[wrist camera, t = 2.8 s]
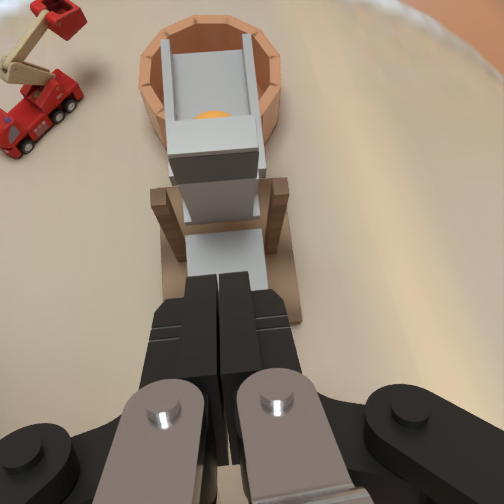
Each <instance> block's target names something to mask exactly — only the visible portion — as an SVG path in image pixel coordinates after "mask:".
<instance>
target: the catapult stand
mask: <svg viewBox="0 0 504 504" xmlns="http://www.w3.org/2000/svg"><path fill="white" fill-rule="evenodd" d="M288 198H289V188H288V181H287V177H286V178H283V177H282V178H271V179H259V185H258V200H259V209H260V219H256V220H245V221H233V222H222V223H211V224H200V225H188V226H186V225H185V223H184V212H183V199H182V196H181V193H180V191H179V188H178V186H177V187H165V188H157V189H150V200H151V208H152V210H153V212H154V214H155V216H156V218H157V220H158V222H159V224H160V239H161V263H162V287H163V302H164V301H165V300H166V299H172V298H182V297H184V292H185V283H186V277H188V269H187V255H186V241H185V235H196V234H207V233H218V232H230V231H241V230H252V229H262V236H263V246H264V255H265V264H266V273H267V282H268V289H272V290H274V291H275V292H276V293H277V294H278V295H279V296H280V297H281V298H282V299H283V300H284V304H285V308H286V312H287V316H288V320H289V324H300V323H301V322H302V316H301V308H300V301H299V294H298V287H297V279H296V272H295V265H294V257H293V250H292V243H291V235H290V228H289V221H288V214H287V202H288Z"/></svg>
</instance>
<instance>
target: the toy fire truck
mask: <svg viewBox="0 0 504 504" xmlns="http://www.w3.org/2000/svg"><path fill="white" fill-rule="evenodd" d="M30 9H31V11H32V12H33V13H34V14H35V16H36V17H37V18H36V19H35V21H34V22H33V24H32V25H31V26H30V28H29V29H28V30H27V32H26V33H25V34H24V36H23V37H22V38H21V40H20V41H19V42H18V44H17V45H16V46H15V48H14V49H13V50H12V52H11V53H10V55H9V56H4V57H3V58H2V59H1V62H0V78H1V79H3V80H4V81H5V82H7V83H10V84H24V85H23V87H22V88H21V90H20V92H21V93H22V95H23V96H24V99H22V100H21V101H20V102H19V103H18V104H17V105H16V106H15V107H14V108H13V109H11V110H10V111H9V112H8V113H6V112H5V111H3V110H2V109H0V149H1V150H2V151H3V152H4V153H5V154H7V155H9V156H11V157H15V158H17V157H20V156H21V154H22V153H21V152H24V153H29V152H30V151H31V150H32V149H33V147H34V144H33V142H34V141H36V140H37V139H38V138H39V137H40V136H41V135H43V134H44V133H45V132H46V131H47V130H48V129H49V128H50V127H51V126H52V125H53V122H55V123H59V122H61V121H62V120H63V119H64V112H63V111H62V110H63V109H64V110H66V111H67V112H72V111H73V110H74V109H75V108H76V102H75V100H77V101H78V100H79V99H81V98H82V96H83V93H82V91H81V89H80V87H79V85H78V83H77V82H76V81H74V80H73V79H71V78H70V77H69V76H67V75H66V74H65V73H63V72H62V71H60V70H59V69H55V70H54V71H53V72H52V73H50V71H49V69H46V68H43V67H40V66H37V65H34V64H31V63H28V62H25V61H24V60H25V58H26V57H27V56H28V54H29V53H30V52H31V50H32V49H33V48H34V46H35V45H36V44H37V42H38V41H39V40H40V38H41V37H42V36H43V34H44V33H45V31H46V30H47V29H50V30H51V31H53V32H54V33H56V34H57V35H59V36H60V37H61V38H63V39H65V40H66V41H68V40H70V39H71V37H73V36H74V35H75V34H76V33H77V32H78V31H79V30H80V29H81V28H82V27H83V26H84V25H85V24H86V23H87V20H86V18H85V16H84V14H83V12H82V10H81V8H80V7H78V6H77V5H75V4H74V3H72V2H71V1H69V0H35V1H34V2H32V3H31V4H30ZM74 99H75V100H74Z"/></svg>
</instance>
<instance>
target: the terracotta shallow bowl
mask: <svg viewBox="0 0 504 504" xmlns="http://www.w3.org/2000/svg"><path fill="white" fill-rule="evenodd" d="M249 33H251V40H252V48H253V57H254V66H255V74H256V83H257V92H258V100H259V109H260V118H261V126H262V135H263V144H264V145H265V144H266V142H267V141H268V140H269V138H270V136H271V134H272V132H273V129H274V126H275V125H276V123H277V119H278V110H279V102H280V93H281V66H280V55H279V53H278V52H277V51H276V49H275V48H274V47H273V45H272V44H271V43H270V41H269V40H268V39H267V37H266V36H265V35H264V33H263V32H262V31H261V30H260V29H258V28H256V27H254V26H252V25H249V24H247V23H245V22H243V21H241V20H238V19H236V18H234V17H232V16H229V15H194V16H190V17H188V18H186V19H184V20H182V21H179V22H177V23H175V24H173V25H170V26H168V27H166V28H164V29H161V30H160V32H159V33H158V34H157V35H156V37H155V38H154V39H153V40H152V42H151V43H150V44H149V46H148V47H147V48H146V49H145V51H144V52H143V53H142V54H141V58H140V71H139V84H138V87H139V90H140V93H141V96H142V99H143V102H144V105H145V107H146V110H147V113H148V116H149V119H150V122H151V124H152V126H153V127H154V129H155V131H156V133H157V135H158V137H159V139H160V141H161V142H162V144H163V145H164V146H165V147H166V148H167V139H166V123H165V107H164V91H163V75H162V59H161V43H160V40H163V39H169V41H170V45H171V50H172V54H186V53H200V52H214V51H228V50H242V34H249Z"/></svg>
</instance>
